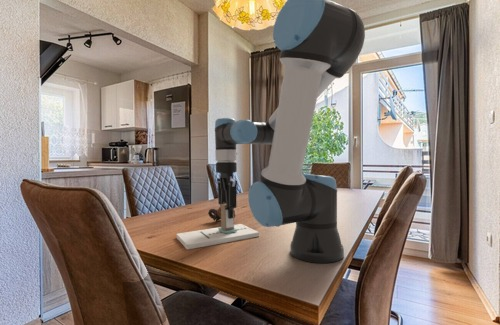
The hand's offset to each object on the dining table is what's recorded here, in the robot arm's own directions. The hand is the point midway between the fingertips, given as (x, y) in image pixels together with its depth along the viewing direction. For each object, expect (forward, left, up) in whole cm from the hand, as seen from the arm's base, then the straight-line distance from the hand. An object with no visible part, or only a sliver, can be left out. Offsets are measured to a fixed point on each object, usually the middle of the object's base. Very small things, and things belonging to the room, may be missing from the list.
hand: (227, 225), depth 97 cm
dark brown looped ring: (+19, -6, -4) cm, 21 cm away
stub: (0, 0, -2) cm, 2 cm away
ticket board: (0, +4, -4) cm, 5 cm away
